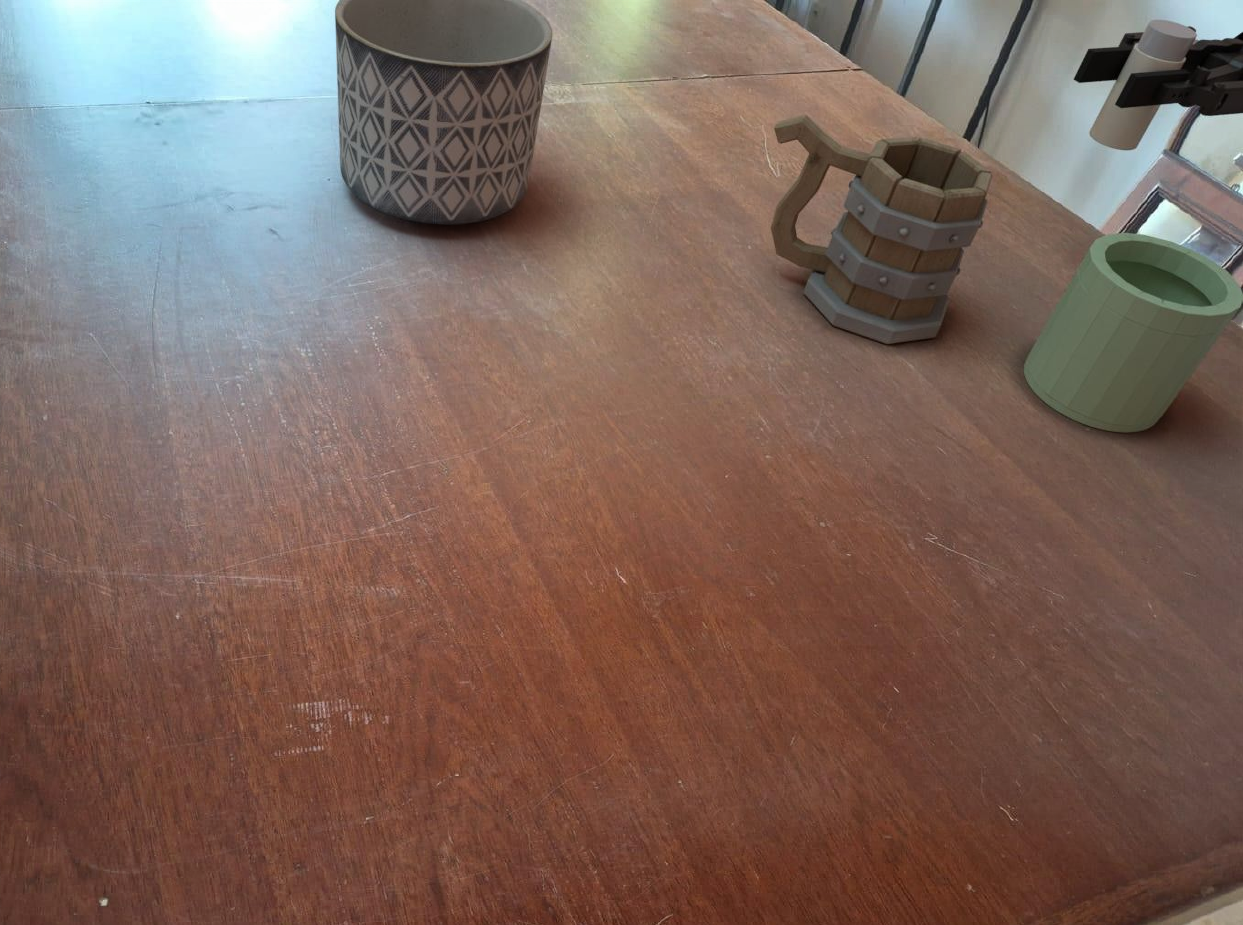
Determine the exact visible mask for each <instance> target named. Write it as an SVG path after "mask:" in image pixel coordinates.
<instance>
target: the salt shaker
mask: <svg viewBox="0 0 1243 925" xmlns="http://www.w3.org/2000/svg"><path fill="white" fill-rule="evenodd" d="M1143 32H1144V33H1143V35H1142V37H1141V39H1140V41H1139V43H1136V44H1135V45H1134V47H1133V49H1132V51H1131V53H1130V55H1129V57H1128V59H1127V61H1126V63H1125V64H1124V66H1123V68H1122V70H1121V72H1120V74H1119V76H1118V78H1117V80H1115V81H1114V84H1113V85H1112V88H1111V89H1110V92H1109V93H1108V95H1107V97H1106V99H1105V100H1104V103H1103V104H1102V106H1101V108H1100V111H1099V112H1098V115H1097V116H1096V118H1095V120H1094V122H1093V124H1092V126H1091V128H1090V130H1089V132H1088V133H1089V136H1090V137H1091V139H1093V141H1095V142H1097V143H1098V144H1100V145H1102V146H1105V147H1107V148H1110V149H1114V150H1117V151H1118V150H1119V151H1134V150H1136V149H1137V148H1138V146H1139V145H1140V143H1141V142H1142V139H1143V138H1144V136H1145V134H1146V133H1147V130H1148V129H1149V126H1150V125H1151V123H1152V121H1153V120H1154V119H1155V116H1156V115H1157V113H1158V111H1159V109H1160V108H1161V105H1153V106H1142V107H1131V108H1120V107H1118V106H1116V105H1115V103H1116V101H1117V99H1118V97H1119V95H1120V94H1121V92H1122V90H1123V88H1124V86H1125V84H1126V82H1127V80H1128V79H1129V77H1130V75H1131V73H1143V72H1156V71H1169V70H1181V68H1182V66H1183V65H1184V63H1185V61H1186V58H1185V56H1186V54H1187V52H1188V51H1189V49H1190V47H1191V45H1192V44H1193V42H1194V40H1195V39H1196V38H1197V37H1196V36H1198V34H1197V31H1196V32H1195V31H1193V30H1192V29H1190V28H1188V26H1187V25H1184V24H1181V23H1178V22H1175V21H1171V20H1167V19H1151V20H1150V21H1149V22H1148V24H1147V25H1146V27H1145V29H1144V31H1143Z"/></svg>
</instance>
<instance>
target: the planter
mask: <svg viewBox="0 0 1243 925" xmlns="http://www.w3.org/2000/svg"><path fill="white" fill-rule="evenodd" d="M334 18H335V19H334V20H335V22H334V23H335V24H334V25H335V51H336V52H335V53H336V80H337V107H338V108H337V110H338V114H337V116H338V135H339V136H338V140H339V141H338V142H339V167H340V174H341V177H342V179H343V181H344V183H345V185H346V187H347V188H348V189H349V190H350V192H352V193H353V195H354V196H356V197H357V198H358V199H359V200H361V202H364V203H365V204H367V206H370V207H372V208H374V209H376V210H377V211H380V212H383V213H385V214H387V215H390V216H392V217H395V218H400V219H403V220H407V221H413V222H417V223H423V224H432V225H467V224H473V223H479V222H483V221H487V220H491V219H494V218H496V217H499V216H501V215H504V214H505V213H507V212H509V211H511V210H512V209H514V208H515V207H516V206H517V205H518V204H519V203H520V202H521V201H522V200H523V198H524V197H525V195H526V193H527V190H528V188H529V183H530V176H531V169H532V164H533V159H534V152H535V146H536V141H537V134H538V127H539V121H540V116H541V108H542V102H543V97H544V89H545V83H546V77H547V73H548V72H547V71H548V65H549V60H550V53H551V48H552V47H551V46H552V41H553V28H552V25H551V24H550V22H549V20H548V19H547V18H546V17H545V16H544V14H542V13H541V12H540V11H539V10H538V9H536V8H535V7H533V6H532V5H530V4H529V3H527V2H525V1H524V0H338V1H337V3H336V5H335V9H334Z"/></svg>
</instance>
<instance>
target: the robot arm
mask: <svg viewBox="0 0 1243 925" xmlns="http://www.w3.org/2000/svg"><path fill="white" fill-rule="evenodd" d="M1187 27H1188V28H1190V29H1192V30H1193V31H1195V32H1196V33H1197V29H1196V28H1195V27H1193V26H1190V25H1188V26H1187ZM1143 33H1144V31H1140V32H1126V33H1124V35H1123V37H1121V38H1122V39H1121V41H1120V42H1119V44H1118V46H1110V47H1095V48H1094V47H1093V48H1088V49H1087V51H1086V53H1085V55H1084V57H1083V59H1082V61H1081V63H1080V65H1079V67H1078V69H1077V71H1076V72H1075V75H1074V77H1073V81H1075V82H1077V83H1078V84H1085V83H1097V82H1111V81H1116V80H1117V78H1118V76H1119V74H1120V72H1121V70H1122V68H1123V66H1124V64H1125V63H1126V61H1127V59H1128V57H1129V55H1130V53H1131V51H1132V49H1133V47H1134V45H1135V44H1136V43H1139V41H1140V39H1141V37H1142V35H1143ZM1197 36H1198V35H1197ZM1197 36H1196V38H1197ZM1196 38H1195V40H1194V42H1193V44H1192V45H1191V47H1190V49H1189V51H1188V52H1187V54H1186V56H1185V58H1186V61H1185V63H1184V65H1183V66H1182V68H1181V70H1169V71H1156V72H1143V73H1131V75H1130V77H1129V79H1128V80H1127V82H1126V84H1125V86H1124V88H1123V90H1122V92H1121V94H1120V95H1119V97H1118V99H1117V101H1116V103H1115V105H1116V106H1118V107H1120V108H1131V107H1142V106H1153V105H1160V106H1162V105H1163V106H1164V105H1174V104H1178V105H1180V106H1181V107H1183V108H1192V107H1196V106H1198V107H1199V109H1198V110H1197V112H1198V113H1199V114H1201V115H1202V116H1204V117H1215V116H1226V115H1227V116H1228V115H1239V114H1243V31H1241V32H1240V33H1239V34H1237V35H1236V36H1235V37H1225V38H1223V39H1200V40H1198V39H1196Z"/></svg>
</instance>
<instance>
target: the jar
mask: <svg viewBox="0 0 1243 925" xmlns="http://www.w3.org/2000/svg"><path fill="white" fill-rule="evenodd" d="M1242 304H1243V291H1242V287H1241V285H1240V284H1239V283H1238V282H1237V280H1236V279H1235V278H1234V277H1233V276H1232V274H1230V272H1229V271H1227V270H1226V269H1225V268H1223V267H1222V266H1220V265H1219V264H1218V263H1217V262H1215V261H1214V260H1212V259H1210V258H1209V257H1207V256H1205V255H1203V254H1201V253H1199V252H1197V251H1195V250H1194V249H1191V248H1189V247H1187V246H1184V245H1181V244H1179V243H1176V242H1173V241H1172V240H1167V239H1162V238H1159V237H1155V236H1151V235H1147V234H1141V233H1140V234H1139V233H1132V232H1131V233H1130V232H1119V233H1109V234H1106V235H1103V236H1101V237H1098V238H1096V239H1095V240H1094V241H1093V243H1092V244H1091V245H1090V246H1089V248H1088V250H1087V252H1086V254H1085V255H1084V257H1083V259H1082V260H1081V263H1080V264H1079V266H1078V268H1077V269H1076V271H1075V273H1074V275H1073V276H1072V278H1071V280H1070V281H1069V283H1068V285H1067V287H1066V289H1065V291H1064V292H1063V294H1062V296H1061V298H1060V299H1059V300H1058V303H1057V304H1056V306H1055V308H1054V309H1053V312H1051V315H1050V317H1049V319H1048V320H1047V321H1046V324H1045V326H1044V327H1043V328H1042V331H1041V333H1040V335H1039V336H1038V338H1037V340H1036V342H1035V343H1034V345H1033V347H1032V348H1031V350H1030V351H1029V353H1028V355H1027V357H1026V360H1025V362H1024V364H1023V374H1024V377H1025V381H1026V382H1027V384H1028V386H1029V388H1030V389H1031V390H1032V391H1033V393H1034V394H1035V395H1036V396H1037V397H1038V398H1039V399H1040V400H1041V401H1042V402H1044V403H1045V404H1046V405H1047V406H1049V407H1050V408H1052V409H1053V410H1055V411H1056V412H1058V413H1059V414H1060V415H1063V416H1064V417H1067V418H1069V419H1071V420H1072V421H1075V422H1077V423H1080V424H1083V425H1085V426H1088V427H1090V428H1094V429H1098V430H1102V431H1106V432H1107V431H1108V432H1112V433H1123V434H1124V433H1138V432H1141V431H1142V432H1143V431H1146V430H1148V429H1149V428H1152V427H1153V426H1154V425H1156V423H1157V422H1158V421H1159V420H1160V418H1163V416H1164V414H1165V413H1166V411H1167V410H1168V409H1169V407H1170V406H1171V404H1172V403H1173V402H1174V400H1175V399H1176V398H1177V396H1178V395H1179V393H1180V392H1181V390H1182V389H1183V388H1184V387H1185V385H1186V383H1187V382H1188V381H1189V379H1190V378H1191V377H1192V376H1193V374H1194V373H1195V371H1196V370H1197V368H1198V367H1199V366H1200V364H1201V363H1202V361H1203V360H1204V358H1206V356H1207V355H1208V354H1209V352H1210V351H1211V349H1212V348H1213V347H1214V345H1215V343H1216V342H1217V341H1218V340H1219V338H1220V336H1221V335H1222V333H1223V332H1224V331H1225V329H1226V328H1227V327H1228V325H1229V324H1230V323H1231V321H1232V320H1233V319H1234V317H1235V316H1236V314H1237V313H1238V311H1239V310H1240V309H1241V307H1242Z"/></svg>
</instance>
